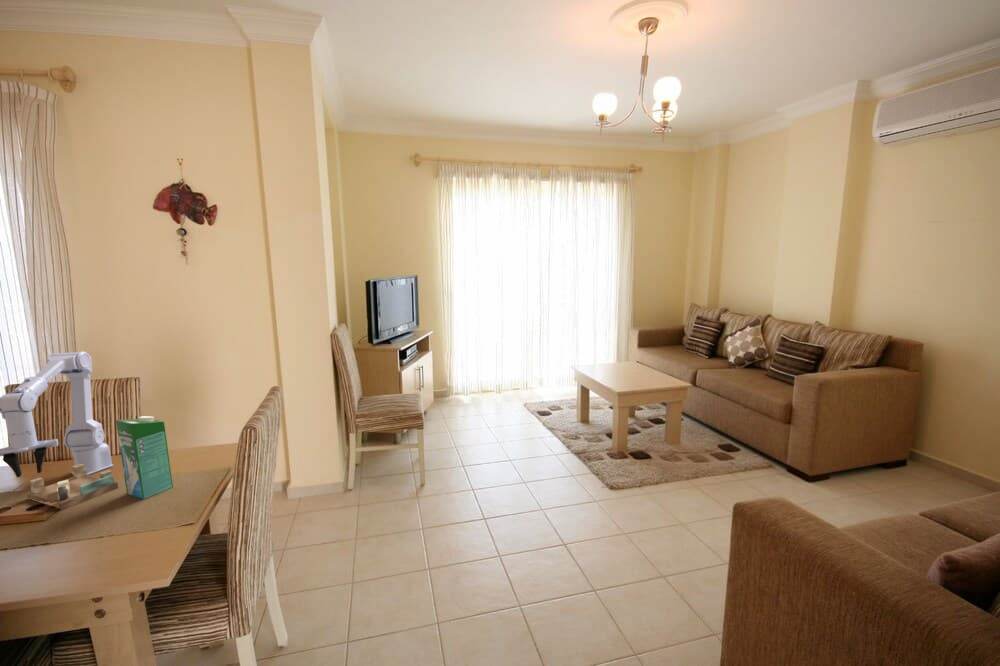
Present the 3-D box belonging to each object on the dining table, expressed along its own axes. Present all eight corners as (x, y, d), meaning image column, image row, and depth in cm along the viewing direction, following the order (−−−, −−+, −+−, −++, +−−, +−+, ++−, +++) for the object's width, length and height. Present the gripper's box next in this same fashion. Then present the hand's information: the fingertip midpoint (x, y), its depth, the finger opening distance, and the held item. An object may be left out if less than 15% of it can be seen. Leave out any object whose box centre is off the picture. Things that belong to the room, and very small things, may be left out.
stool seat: (84, 478, 160) (81, 462, 159) (118, 487, 153) (115, 470, 152) (28, 499, 147) (24, 481, 146) (61, 509, 139) (58, 491, 138)
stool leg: (69, 498, 142) (67, 486, 141) (58, 501, 140) (56, 489, 140) (69, 487, 149) (67, 476, 149) (59, 490, 148) (57, 479, 147)
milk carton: (173, 486, 153) (163, 414, 149) (142, 499, 145) (131, 423, 141) (157, 482, 156) (147, 411, 153) (126, 494, 148) (115, 420, 145)
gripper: (-17, 441, 131) (-9, 485, 133) (52, 429, 140) (60, 471, 142) (-11, 434, 137) (-3, 477, 139) (56, 423, 146) (63, 464, 148)
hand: (29, 473), depth 141 cm, fingers open, 4 cm apart
